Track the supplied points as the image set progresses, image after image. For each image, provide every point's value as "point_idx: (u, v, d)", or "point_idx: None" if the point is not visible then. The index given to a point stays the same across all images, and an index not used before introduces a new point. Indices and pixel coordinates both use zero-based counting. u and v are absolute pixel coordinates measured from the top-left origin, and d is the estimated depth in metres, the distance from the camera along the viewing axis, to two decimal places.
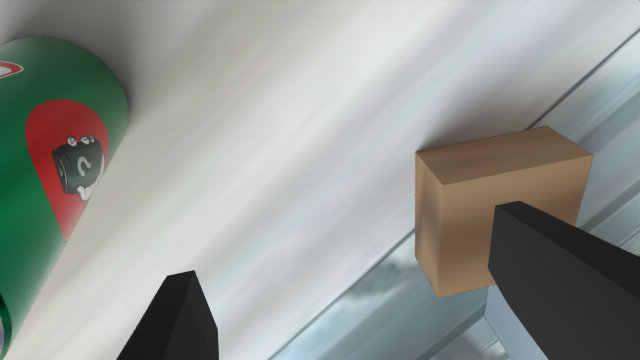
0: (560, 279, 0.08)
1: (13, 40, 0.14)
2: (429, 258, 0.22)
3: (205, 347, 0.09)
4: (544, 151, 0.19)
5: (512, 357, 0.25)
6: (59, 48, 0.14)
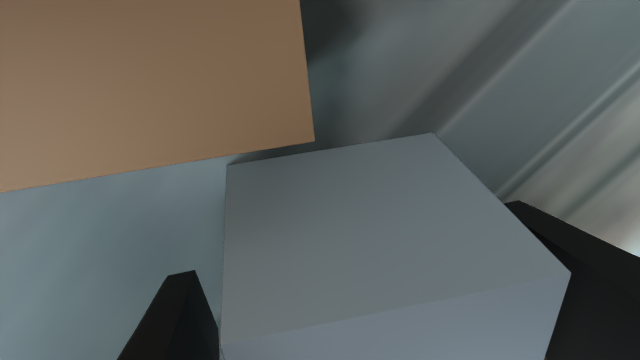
0: None
1: None
2: None
3: (206, 347, 0.09)
4: None
5: None
6: None
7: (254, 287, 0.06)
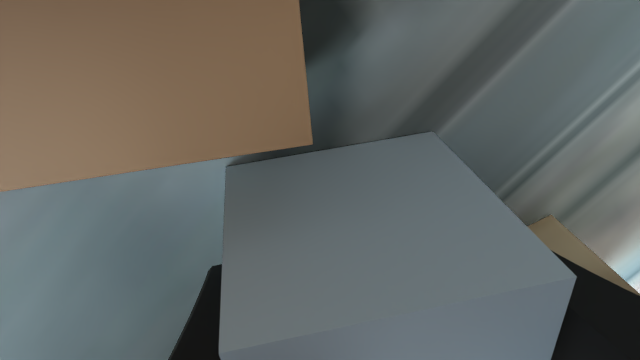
0: None
1: None
2: None
3: None
4: None
5: None
6: None
7: (253, 294, 0.06)
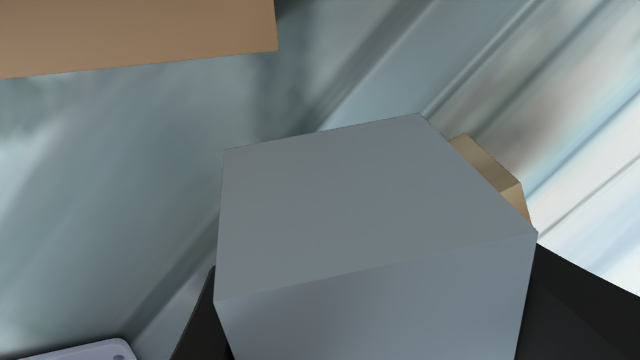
0: None
1: None
2: None
3: None
4: None
5: None
6: None
7: (245, 254, 0.07)
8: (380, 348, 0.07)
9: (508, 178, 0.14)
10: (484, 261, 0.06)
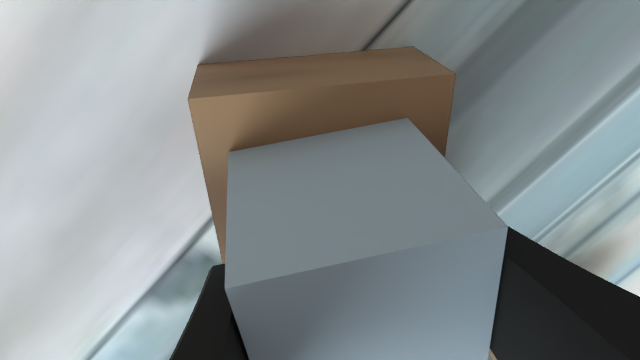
0: (510, 290, 0.08)
1: None
2: None
3: None
4: (385, 68, 0.12)
5: None
6: None
7: (251, 247, 0.08)
8: (370, 330, 0.08)
9: None
10: (461, 252, 0.07)
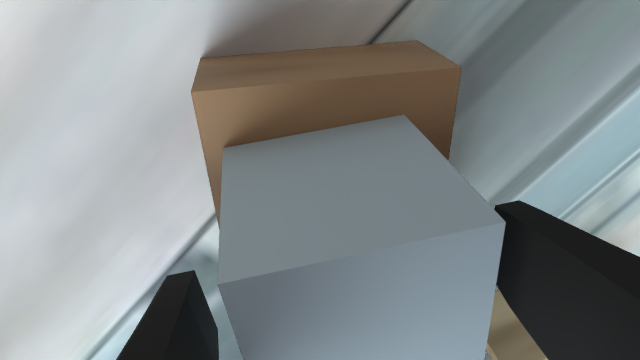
0: (560, 279, 0.08)
1: None
2: None
3: (205, 347, 0.09)
4: (390, 62, 0.12)
5: None
6: None
7: (245, 242, 0.08)
8: (366, 327, 0.08)
9: None
10: (458, 248, 0.07)
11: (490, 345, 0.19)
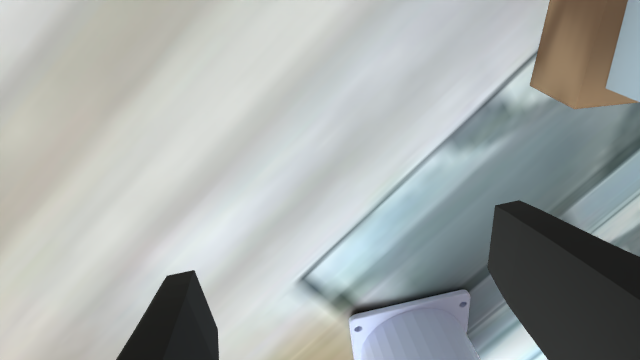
0: (560, 279, 0.08)
1: None
2: (566, 61, 0.18)
3: (205, 347, 0.09)
4: None
5: None
6: None
7: None
8: None
9: None
10: None
11: None
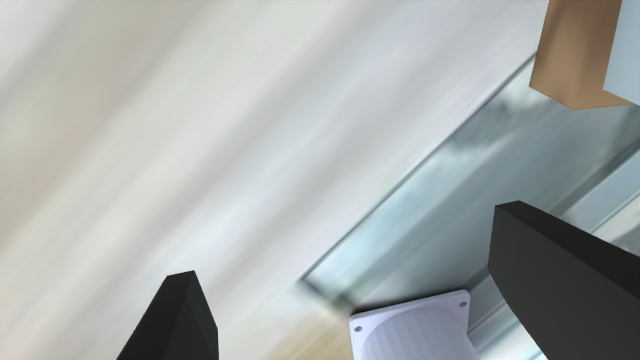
0: (560, 279, 0.08)
1: None
2: (565, 62, 0.18)
3: (205, 347, 0.09)
4: None
5: None
6: None
7: None
8: None
9: None
10: None
11: None
